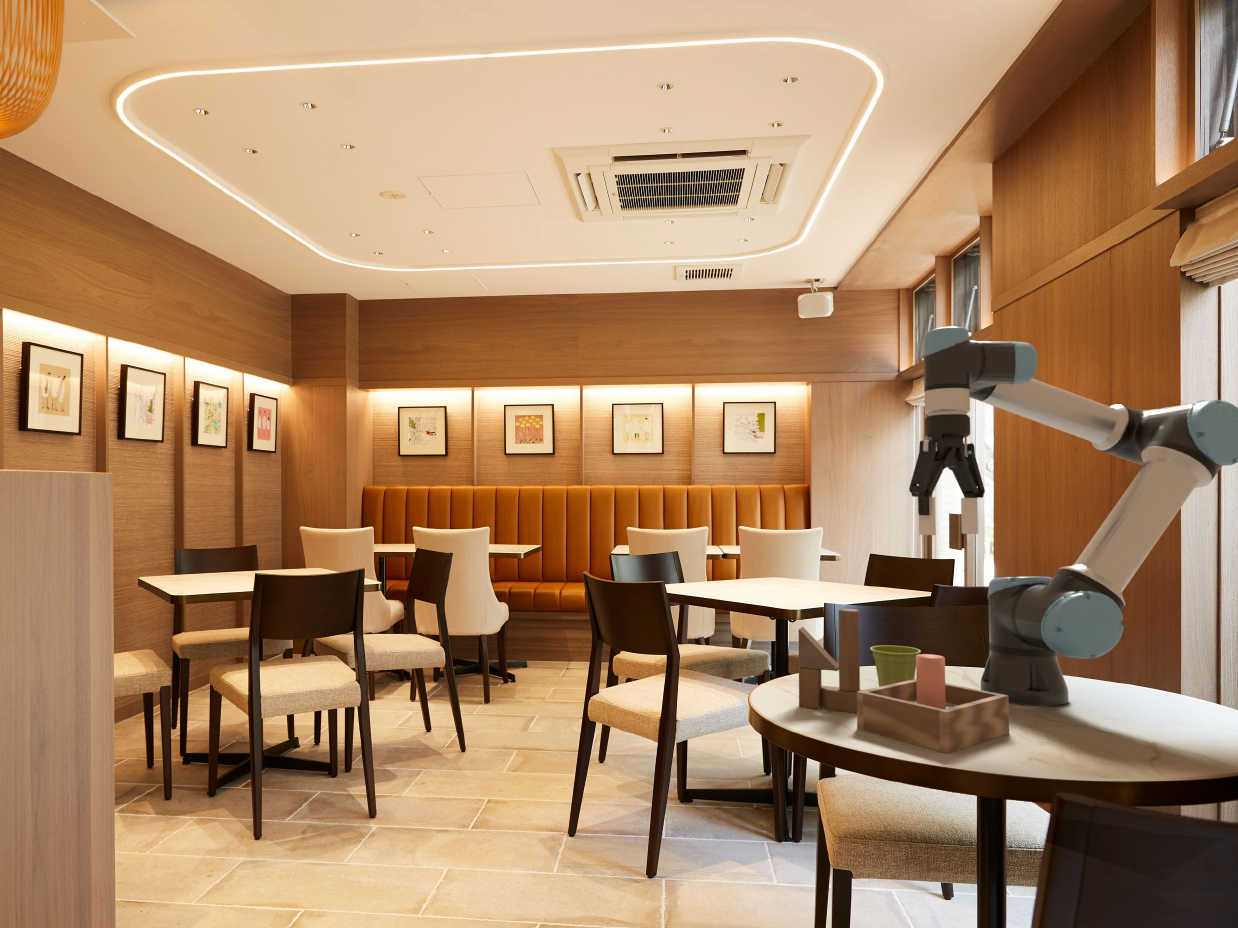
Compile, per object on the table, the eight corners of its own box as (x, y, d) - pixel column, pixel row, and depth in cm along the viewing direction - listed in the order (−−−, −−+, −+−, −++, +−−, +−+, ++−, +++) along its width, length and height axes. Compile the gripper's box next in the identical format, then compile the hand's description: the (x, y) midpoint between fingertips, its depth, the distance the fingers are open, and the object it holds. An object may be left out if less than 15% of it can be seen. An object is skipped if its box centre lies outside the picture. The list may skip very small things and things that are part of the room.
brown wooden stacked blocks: (802, 703, 146) (801, 605, 147) (862, 709, 142) (861, 609, 143) (798, 707, 143) (797, 607, 144) (859, 714, 138) (858, 611, 139)
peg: (926, 725, 131) (925, 653, 132) (951, 731, 127) (950, 657, 128) (911, 730, 128) (910, 656, 129) (936, 736, 125) (935, 660, 125)
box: (920, 712, 140) (919, 677, 140) (1009, 733, 127) (1008, 695, 127) (857, 728, 129) (856, 691, 129) (947, 753, 116) (946, 712, 117)
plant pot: (860, 691, 156) (859, 646, 156) (895, 686, 160) (894, 643, 161) (896, 701, 148) (896, 654, 148) (932, 696, 152) (931, 650, 152)
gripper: (964, 421, 150) (967, 532, 149) (886, 411, 136) (888, 534, 134) (1003, 418, 144) (1006, 533, 143) (926, 407, 129) (928, 536, 128)
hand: (949, 534), depth 139 cm, fingers open, 13 cm apart
